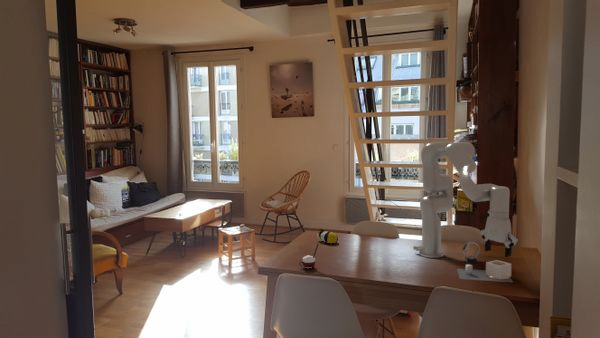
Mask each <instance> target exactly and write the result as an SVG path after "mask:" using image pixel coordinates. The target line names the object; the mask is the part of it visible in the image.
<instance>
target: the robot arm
mask: <svg viewBox="0 0 600 338" xmlns="http://www.w3.org/2000/svg"><path fill="white" fill-rule="evenodd" d="M420 153H421V154H420V157H421V163H422V188H423V190H424V192H426V193H429V194H430V195H426V196H424V197H422V198H421V200H420V202H419V207H420V212H421V245H419V246H417V245H413V246H412V247H413V250H414V251H418V255H419V256H421V257H424V258H430V259H438V258H439V259H440V258H443V257H444V256H445V253H444V251H442V222H441V221H442V220H441V218H440V216H439V215H438V214H440V213H446V212H447V213H448V212H450V211H451V210H452V209H453V206H454V183H453V179H452V178H451V176H450V175H449V174H447V173H441V166H440V163H439V162H438V160H439V159H448V160H449V161H450V162H451V164H452V165H453V166H454V167H455V170H456V171H457V172H458V173H459V177H458V181H459V187H460V188H461V190H462V193H464V194H465V196H466V197H467V198H468V199H469V200H470V201H472V202H475V203H476V202H477V203H478V202H487V201H489V209H488V210H487V214H489V215H488V216H487V217H486V222H485V227H484V229H482V230H480V234H481V238H482V239H483V242H484V252H489V251H491V250H492V241H493V242H497V243H501V244H504V246H505V248H504V257H505V258H508V257H511V256H512V251H513V250H512V249H513V247H514V246H516V244H517V243H518V241H519V239H518V238H517V237H516V236H515V235H513V234H512V223H511V220H510V217H509V215H510V195H511V194H510V188H509V187H508V186H502V185H500V186H499V185H497V184H493V183H482V184H480V183H479V184H478V183H477V184H476V183H475V181H474V180H473V179H472V177H471V174H472V173H474V171H476V168H477V162H476V161H475V160H474V159H473V158H474V157H475V155H476V148H475V147H474V145H473V144H472V143H471V142H470V141H433V142H428V143H426V144H425V145H424V146H423V147H422V149H421V152H420ZM434 193H438V194H434ZM431 194H433V195H431Z"/></svg>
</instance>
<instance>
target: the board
mask: <svg viewBox="0 0 600 338" xmlns="http://www.w3.org/2000/svg"><path fill="white" fill-rule="evenodd" d="M456 271H457V275H458V277H459V280H471V281H487V282H502V283H514V281H513V280H512V278H511V277H510V278H509V279H505V280H500V279H494V278H490V277H488V276H487V275H486V269H482V270H481V269H473V265H472V264H470V263H467V264H465V268H456Z"/></svg>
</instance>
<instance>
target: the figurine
mask: <svg viewBox="0 0 600 338" xmlns="http://www.w3.org/2000/svg"><path fill="white" fill-rule="evenodd" d="M318 229H319V230H320V231H319V232H318V233H317V234H316V237H317V238H318V239H319V240H320V242H321V241H324V242H323V243H325V242H326V243H325V244H327V243H334V244H337V243H338V239H339V237H338V236H337V234H336V233H335V232H333V231H326V230H324V229H322V228H318ZM336 242H337V243H336Z"/></svg>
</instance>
